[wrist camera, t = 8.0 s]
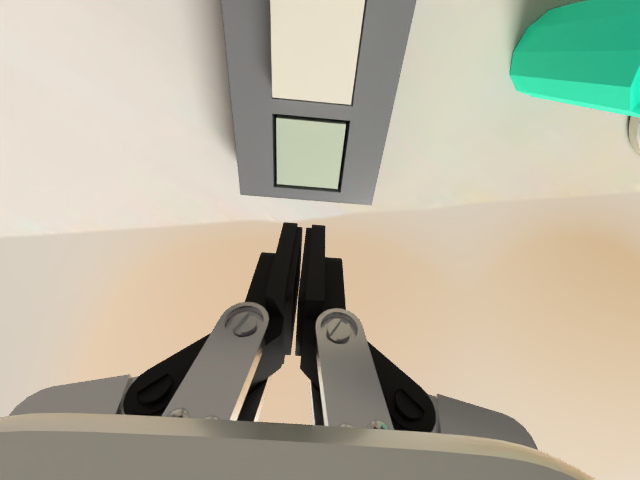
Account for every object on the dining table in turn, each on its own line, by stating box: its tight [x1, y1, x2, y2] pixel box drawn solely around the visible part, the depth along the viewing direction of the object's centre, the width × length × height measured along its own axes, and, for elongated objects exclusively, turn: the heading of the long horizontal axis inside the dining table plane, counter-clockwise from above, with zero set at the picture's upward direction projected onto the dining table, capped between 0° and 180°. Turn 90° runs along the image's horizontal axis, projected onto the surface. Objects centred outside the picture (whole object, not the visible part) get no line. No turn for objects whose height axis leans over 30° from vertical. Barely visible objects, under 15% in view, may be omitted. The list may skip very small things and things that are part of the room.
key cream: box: [270, 0, 365, 105], centre depth 18 cm, size 5×5×3 cm
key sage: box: [276, 114, 346, 189], centre depth 23 cm, size 5×5×3 cm
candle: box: [510, 0, 640, 118], centre depth 16 cm, size 6×6×12 cm
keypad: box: [221, 0, 416, 205], centre depth 19 cm, size 12×22×4 cm, turn 175°
